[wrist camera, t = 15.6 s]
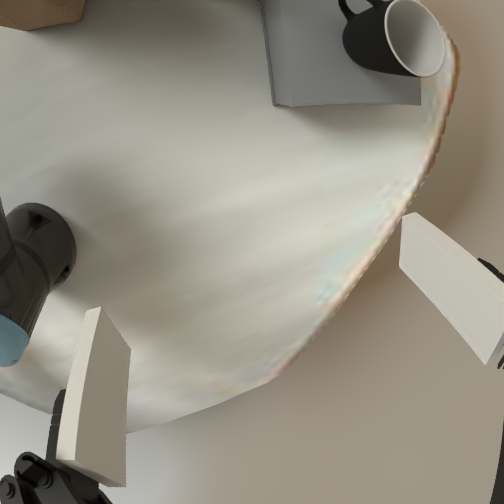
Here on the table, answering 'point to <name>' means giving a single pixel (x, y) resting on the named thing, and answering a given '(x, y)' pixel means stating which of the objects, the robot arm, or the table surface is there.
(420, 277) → the robot arm
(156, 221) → the table surface
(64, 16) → the wooden block
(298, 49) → the large grey square box
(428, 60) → the mug
